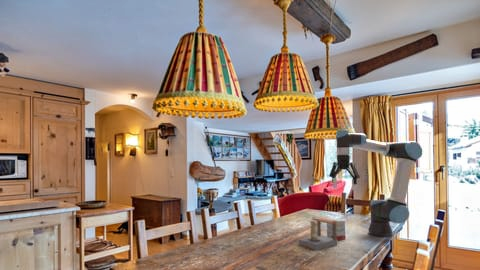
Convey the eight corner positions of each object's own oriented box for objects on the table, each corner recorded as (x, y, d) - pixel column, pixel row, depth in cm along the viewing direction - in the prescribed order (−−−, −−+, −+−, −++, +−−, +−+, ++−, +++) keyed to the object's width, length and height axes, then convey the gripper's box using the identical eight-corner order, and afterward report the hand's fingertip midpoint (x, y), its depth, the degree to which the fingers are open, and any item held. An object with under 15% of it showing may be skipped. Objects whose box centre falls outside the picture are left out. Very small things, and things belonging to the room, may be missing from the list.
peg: (309, 245, 182) (309, 221, 183) (314, 244, 184) (313, 220, 185) (314, 246, 178) (314, 222, 180) (319, 245, 181) (318, 221, 182)
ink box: (346, 239, 195) (345, 220, 196) (335, 240, 192) (334, 221, 193) (337, 236, 203) (336, 218, 204) (326, 237, 200) (326, 219, 201)
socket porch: (318, 239, 194) (318, 217, 195) (337, 244, 182) (336, 220, 184) (298, 244, 183) (298, 220, 185) (317, 250, 172) (316, 224, 173)
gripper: (323, 154, 198) (324, 187, 196) (357, 154, 177) (358, 191, 176) (330, 154, 202) (331, 187, 200) (364, 154, 182) (366, 190, 180)
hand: (344, 189), depth 188 cm, fingers open, 13 cm apart
